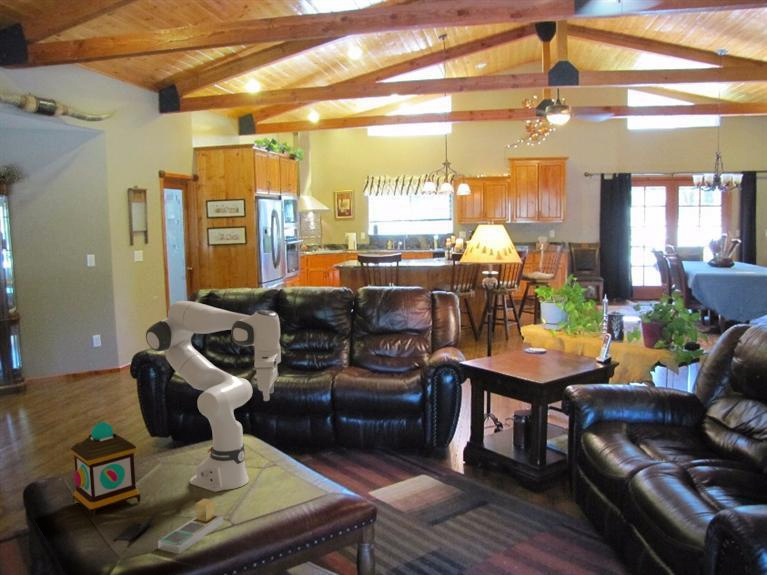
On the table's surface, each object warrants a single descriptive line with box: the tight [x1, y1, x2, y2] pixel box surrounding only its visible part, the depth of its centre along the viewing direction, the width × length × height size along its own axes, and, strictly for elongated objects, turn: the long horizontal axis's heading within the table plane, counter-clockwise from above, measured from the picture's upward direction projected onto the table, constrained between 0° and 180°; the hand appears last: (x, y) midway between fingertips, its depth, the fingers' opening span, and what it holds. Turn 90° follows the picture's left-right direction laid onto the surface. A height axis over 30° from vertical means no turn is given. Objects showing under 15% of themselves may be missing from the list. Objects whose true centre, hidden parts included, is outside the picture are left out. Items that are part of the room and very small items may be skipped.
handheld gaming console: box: [113, 511, 159, 542], centre depth 199 cm, size 12×7×10 cm
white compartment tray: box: [157, 513, 224, 555], centre depth 197 cm, size 8×21×3 cm, turn 157°
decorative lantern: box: [70, 421, 141, 519], centre depth 221 cm, size 20×20×30 cm
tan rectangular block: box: [194, 498, 216, 524], centre depth 203 cm, size 4×4×8 cm
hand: (268, 396), depth 215 cm, fingers open, 8 cm apart
